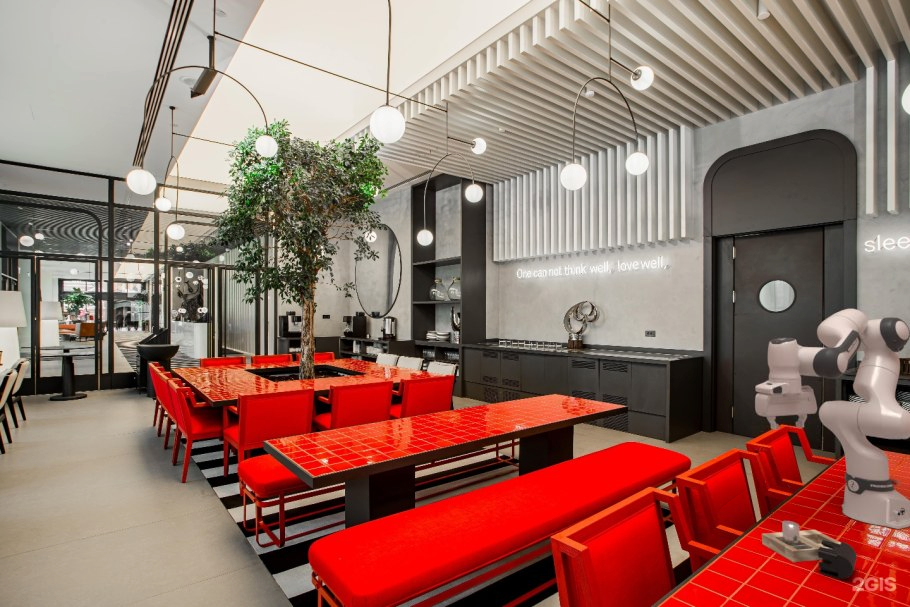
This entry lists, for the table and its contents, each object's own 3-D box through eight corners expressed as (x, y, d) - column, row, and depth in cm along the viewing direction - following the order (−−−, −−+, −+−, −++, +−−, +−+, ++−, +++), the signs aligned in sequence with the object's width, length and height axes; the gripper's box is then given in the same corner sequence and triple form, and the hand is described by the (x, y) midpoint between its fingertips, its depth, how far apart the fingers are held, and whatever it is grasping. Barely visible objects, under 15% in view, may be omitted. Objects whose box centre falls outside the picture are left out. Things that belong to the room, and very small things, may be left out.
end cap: (853, 584, 119) (852, 557, 119) (818, 574, 124) (817, 548, 124) (857, 570, 126) (856, 544, 126) (824, 560, 131) (823, 536, 131)
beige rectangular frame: (814, 539, 143) (814, 529, 144) (849, 557, 132) (848, 545, 133) (762, 543, 141) (761, 533, 141) (793, 562, 130) (792, 550, 130)
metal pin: (791, 547, 138) (790, 520, 139) (803, 554, 134) (802, 526, 135) (779, 548, 138) (778, 521, 138) (791, 555, 134) (790, 527, 134)
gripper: (804, 383, 159) (806, 424, 158) (750, 386, 156) (753, 428, 156) (821, 386, 153) (823, 428, 152) (765, 389, 150) (768, 432, 149)
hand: (787, 428), depth 154 cm, fingers open, 8 cm apart
